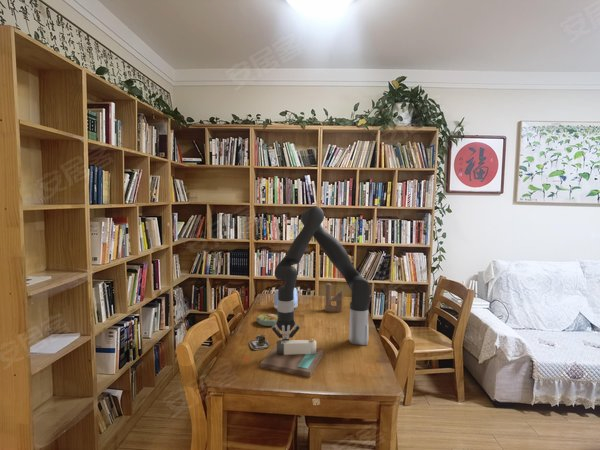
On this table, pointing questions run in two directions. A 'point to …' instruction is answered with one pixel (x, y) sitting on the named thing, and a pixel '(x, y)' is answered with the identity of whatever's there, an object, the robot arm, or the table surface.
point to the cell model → (267, 319)
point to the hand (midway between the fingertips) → (285, 346)
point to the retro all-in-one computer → (294, 299)
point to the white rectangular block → (296, 347)
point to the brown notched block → (336, 298)
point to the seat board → (292, 362)
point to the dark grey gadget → (259, 343)
